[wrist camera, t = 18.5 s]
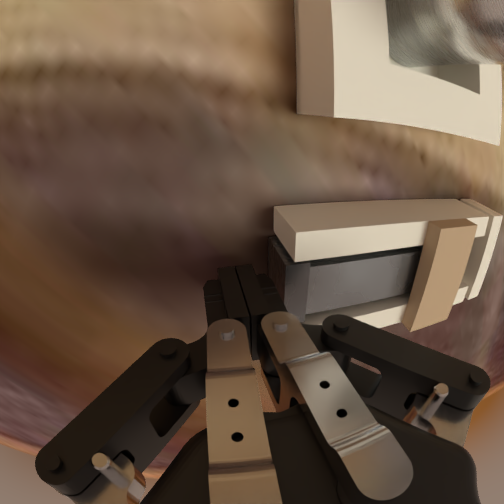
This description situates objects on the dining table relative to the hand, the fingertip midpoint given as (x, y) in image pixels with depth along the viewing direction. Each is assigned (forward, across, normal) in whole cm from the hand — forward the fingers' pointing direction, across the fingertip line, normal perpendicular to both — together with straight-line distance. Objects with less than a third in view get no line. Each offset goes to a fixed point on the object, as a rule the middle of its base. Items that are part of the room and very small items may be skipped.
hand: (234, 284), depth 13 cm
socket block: (+1, -8, -12) cm, 15 cm away
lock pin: (+1, -7, 0) cm, 7 cm away
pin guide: (+1, -8, 0) cm, 8 cm away
